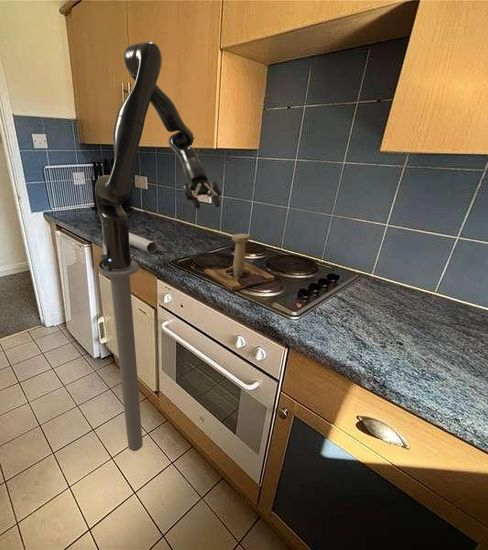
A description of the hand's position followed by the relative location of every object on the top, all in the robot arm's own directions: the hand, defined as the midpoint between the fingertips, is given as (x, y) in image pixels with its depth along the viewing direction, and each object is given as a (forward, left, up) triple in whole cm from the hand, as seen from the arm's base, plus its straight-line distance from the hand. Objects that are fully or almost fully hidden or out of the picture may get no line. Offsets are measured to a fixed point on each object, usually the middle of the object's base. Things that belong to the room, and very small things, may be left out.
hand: (208, 206), depth 113 cm
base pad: (+3, -18, -22) cm, 28 cm away
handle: (+3, -18, -22) cm, 29 cm away
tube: (-19, +31, -22) cm, 43 cm away
